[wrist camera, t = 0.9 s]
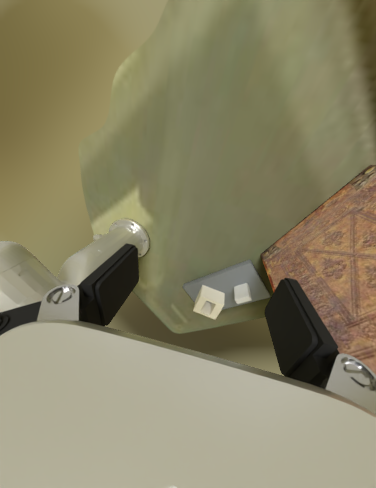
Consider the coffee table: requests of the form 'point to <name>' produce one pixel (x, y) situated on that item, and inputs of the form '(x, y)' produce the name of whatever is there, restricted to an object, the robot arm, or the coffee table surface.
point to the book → (336, 265)
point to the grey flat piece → (232, 285)
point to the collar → (206, 307)
